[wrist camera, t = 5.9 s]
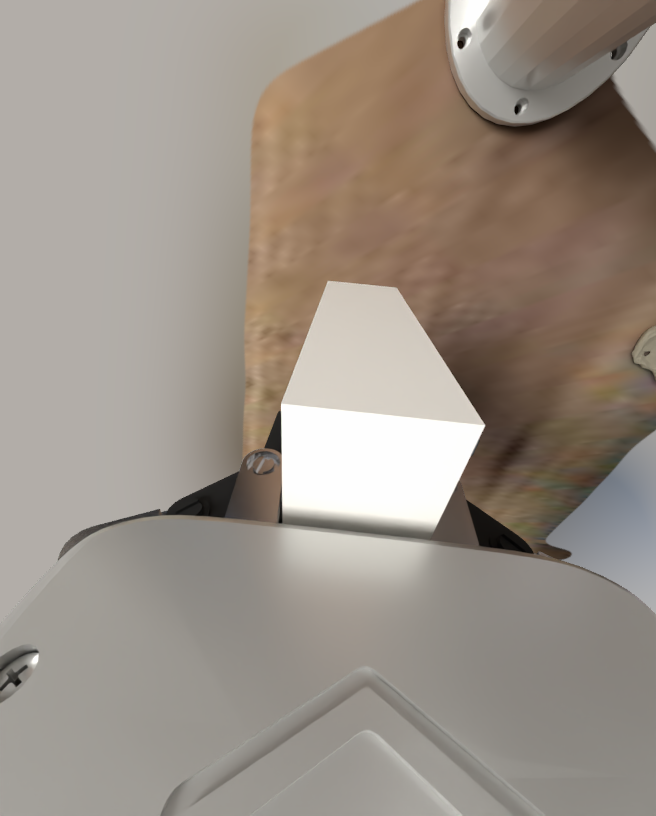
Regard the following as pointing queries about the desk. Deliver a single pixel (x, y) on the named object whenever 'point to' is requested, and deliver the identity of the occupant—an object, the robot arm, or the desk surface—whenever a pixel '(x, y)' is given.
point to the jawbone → (649, 341)
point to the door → (372, 420)
